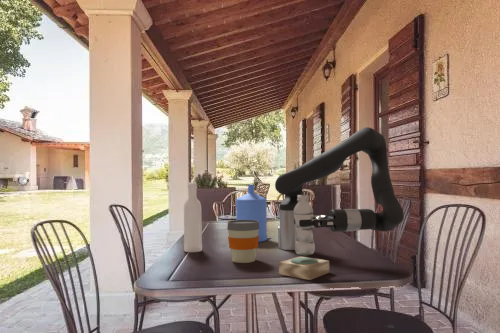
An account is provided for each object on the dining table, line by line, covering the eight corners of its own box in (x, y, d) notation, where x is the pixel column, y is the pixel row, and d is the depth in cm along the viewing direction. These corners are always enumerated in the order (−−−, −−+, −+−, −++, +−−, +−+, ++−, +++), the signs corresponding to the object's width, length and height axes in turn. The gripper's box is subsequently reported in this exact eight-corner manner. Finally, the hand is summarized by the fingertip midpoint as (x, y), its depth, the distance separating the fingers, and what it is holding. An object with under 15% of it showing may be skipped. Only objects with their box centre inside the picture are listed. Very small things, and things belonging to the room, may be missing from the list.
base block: (279, 274, 134) (278, 261, 134) (299, 267, 143) (299, 255, 143) (309, 280, 126) (309, 266, 127) (329, 272, 135) (329, 259, 136)
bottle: (185, 253, 173) (184, 182, 174) (182, 249, 181) (181, 182, 181) (203, 251, 176) (203, 182, 176) (200, 248, 183) (199, 182, 184)
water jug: (267, 242, 197) (266, 185, 197) (235, 243, 197) (234, 185, 198) (266, 237, 212) (266, 184, 213) (236, 238, 213) (236, 184, 213)
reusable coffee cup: (229, 264, 150) (228, 223, 150) (226, 257, 162) (225, 220, 162) (262, 263, 152) (262, 222, 152) (256, 256, 164) (256, 219, 164)
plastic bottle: (314, 257, 131) (312, 195, 132) (293, 256, 133) (292, 195, 133) (315, 253, 137) (313, 194, 138) (295, 253, 139) (293, 194, 139)
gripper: (336, 207, 145) (290, 209, 142) (352, 210, 130) (302, 212, 128) (337, 228, 144) (291, 230, 142) (353, 234, 130) (303, 236, 128)
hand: (296, 222), depth 135 cm, fingers closed on plastic bottle, 6 cm apart
